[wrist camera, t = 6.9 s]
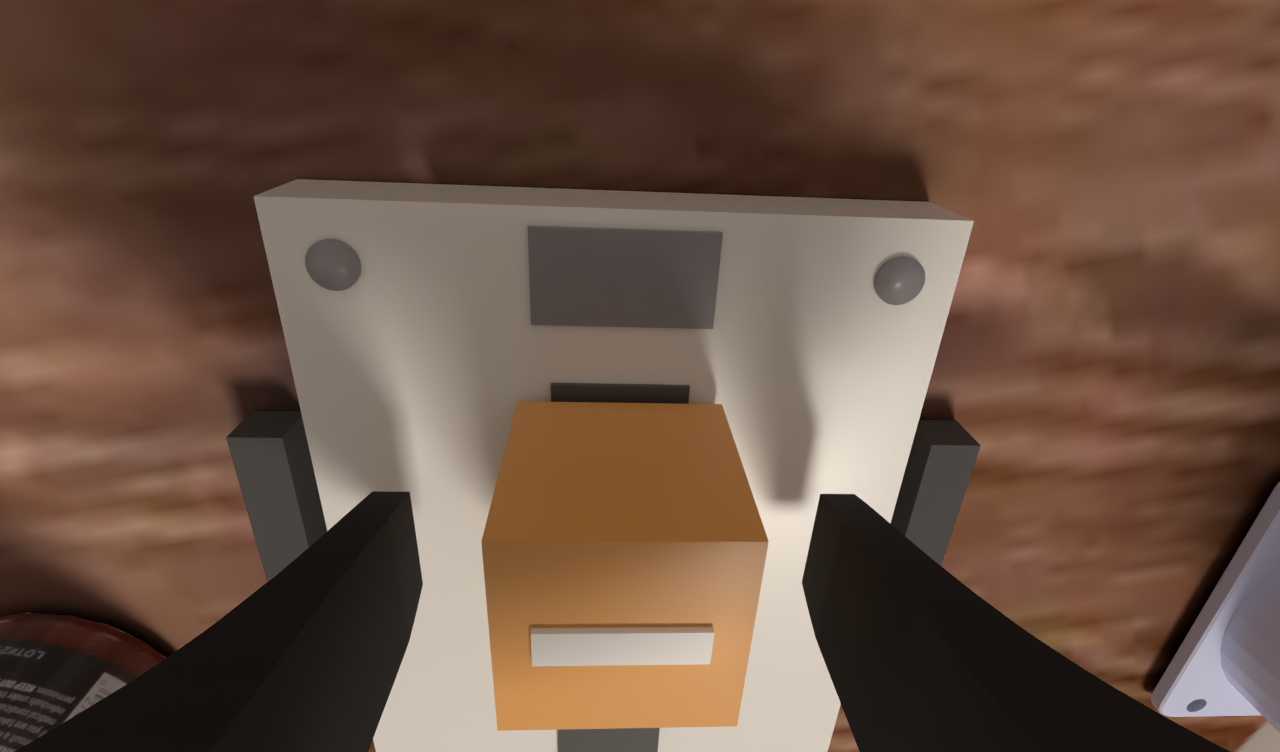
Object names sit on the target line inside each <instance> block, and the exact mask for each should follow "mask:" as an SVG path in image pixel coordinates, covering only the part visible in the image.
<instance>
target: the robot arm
mask: <svg viewBox="0 0 1280 752" xmlns="http://www.w3.org/2000/svg"><path fill="white" fill-rule="evenodd" d="M422 586H423V581H422V574H421V567H420V560H419V553H418V546H417V539H416V532H415V525H414V518H413V511H412V504H411V497H410V492H387V491H373V492H371V493H370V494H369V495H368V496H367V497H365V498H364V499H363V500H362V501H361V502H360V503H359V504H357V505H356V506H355V507H354V508H353V509H352V510H351V511H350V512H348V513H347V514H346V515H345V516H344V517H343V518H342V519H340V520H339V521H338V522H337V523H336V524H335V525H334V526H333V527H331V528H330V529H329V530H328V531H327V532H326V533H325V534H324V535H322V536H321V537H320V538H319V539H318V540H317V541H316V542H315V543H313V544H312V545H311V546H310V547H309V548H308V549H307V550H305V551H304V552H303V553H302V554H301V555H300V556H298V557H297V558H296V559H295V560H294V561H292V562H291V563H290V564H289V565H288V566H287V567H285V568H284V569H283V570H282V571H281V572H280V573H278V574H277V575H276V576H275V577H274V578H272V579H271V580H270V581H269V582H267V583H266V584H265V585H263V586H262V587H261V588H260V589H258V590H257V591H256V592H255V593H253V594H252V595H251V596H250V597H248V598H247V599H246V600H244V601H243V602H242V603H241V604H239V605H238V606H237V607H236V608H234V609H233V610H232V611H231V612H229V613H228V614H227V615H225V616H224V617H223V618H222V619H220V620H219V621H218V622H216V623H215V624H214V625H212V626H211V627H210V628H208V629H207V630H206V631H204V632H203V633H201V634H200V635H199V636H197V637H196V638H194V639H193V640H192V641H190V642H189V643H187V644H186V645H185V646H183V647H182V648H180V649H179V650H177V651H176V652H174V653H173V654H171V655H170V656H169V657H167V658H166V659H164V660H163V661H161V662H160V663H158V664H157V665H155V666H154V667H152V668H151V669H149V670H148V671H146V672H145V673H143V674H142V675H140V676H139V677H137V678H136V679H134V680H133V681H131V682H130V683H128V684H127V685H125V686H123V687H122V688H120V689H118V690H117V691H115V692H113V693H112V694H110V695H108V696H107V697H105V698H104V699H102V700H100V701H99V702H97V703H95V704H94V705H92V706H90V707H89V708H87V709H85V710H84V711H82V712H80V713H79V714H77V715H76V716H74V717H72V718H71V719H69V720H67V721H66V722H64V723H62V724H61V725H59V726H57V727H56V728H54V729H52V730H51V731H49V732H48V733H46V734H44V735H43V736H41V737H39V738H37V739H36V740H34V741H32V742H30V743H29V744H27V745H25V746H23V747H21V748H20V749H18V750H16V751H14V752H368V750H369V748H370V745H371V742H372V740H373V737H374V734H375V732H376V729H377V727H378V724H379V721H380V719H381V716H382V713H383V711H384V708H385V705H386V703H387V700H388V697H389V695H390V692H391V690H392V687H393V684H394V681H395V679H396V676H397V673H398V671H399V668H400V665H401V663H402V660H403V657H404V654H405V652H406V649H407V646H408V643H409V640H410V636H411V632H412V628H413V624H414V620H415V616H416V612H417V608H418V603H419V599H420V595H421V590H422ZM802 586H803V590H804V594H805V598H806V603H807V607H808V611H809V615H810V619H811V623H812V626H813V630H814V634H815V638H816V640H817V643H818V646H819V648H820V651H821V654H822V656H823V659H824V661H825V664H826V667H827V669H828V672H829V674H830V677H831V680H832V682H833V685H834V687H835V690H836V692H837V695H838V697H839V700H840V703H841V705H842V708H843V710H844V713H845V715H846V718H847V720H848V723H849V725H850V728H851V731H852V733H853V736H854V738H855V741H856V743H857V746H858V748H859V751H860V752H1230V751H1228V750H1226V749H1224V748H1222V747H1220V746H1218V745H1216V744H1214V743H1212V742H1210V741H1208V740H1207V739H1205V738H1203V737H1201V736H1199V735H1197V734H1195V733H1193V732H1192V731H1190V730H1188V729H1186V728H1184V727H1182V726H1180V725H1179V724H1177V723H1175V722H1173V721H1171V720H1169V719H1168V718H1166V717H1164V716H1170V717H1188V716H1245V715H1262V716H1263V717H1264V718H1265V719H1266V720H1267V721H1268V722H1269V723H1270V724H1271V725H1272V726H1274V728H1275V729H1276V730H1277V731H1278V732H1280V481H1279V482H1278V483H1277V485H1276V486H1275V487H1274V489H1273V491H1272V493H1271V494H1270V496H1269V498H1268V499H1267V501H1266V503H1265V504H1264V506H1263V508H1262V509H1261V511H1260V513H1259V514H1258V516H1257V518H1256V519H1255V521H1254V523H1253V524H1252V526H1251V528H1250V529H1249V531H1248V533H1247V535H1246V536H1245V538H1244V540H1243V541H1242V543H1241V545H1240V546H1239V548H1238V550H1237V551H1236V553H1235V555H1234V556H1233V558H1232V560H1231V561H1230V563H1229V565H1228V566H1227V568H1226V570H1225V572H1224V573H1223V575H1222V577H1221V578H1220V580H1219V582H1218V583H1217V585H1216V587H1215V588H1214V590H1213V592H1212V593H1211V595H1210V597H1209V598H1208V600H1207V602H1206V603H1205V605H1204V607H1203V608H1202V610H1201V612H1200V614H1199V615H1198V617H1197V619H1196V620H1195V622H1194V624H1193V625H1192V627H1191V629H1190V630H1189V632H1188V634H1187V635H1186V637H1185V639H1184V640H1183V642H1182V644H1181V645H1180V647H1179V649H1178V651H1177V652H1176V654H1175V656H1174V657H1173V659H1172V661H1171V662H1170V664H1169V666H1168V667H1167V669H1166V671H1165V672H1164V674H1163V676H1162V677H1161V679H1160V681H1159V682H1158V684H1157V686H1156V687H1155V689H1154V691H1153V693H1152V695H1151V702H1152V704H1153V705H1154V706H1155V707H1156V709H1157V710H1158V711H1159V712H1160V713H1161V714H1163V715H1164V716H1162V715H1161V714H1159V713H1157V712H1155V711H1154V710H1152V709H1150V708H1148V707H1147V706H1145V705H1143V704H1141V703H1140V702H1138V701H1136V700H1134V699H1133V698H1131V697H1129V696H1128V695H1126V694H1124V693H1122V692H1121V691H1119V690H1117V689H1115V688H1114V687H1112V686H1110V685H1109V684H1107V683H1105V682H1104V681H1102V680H1101V679H1099V678H1097V677H1096V676H1094V675H1092V674H1091V673H1089V672H1087V671H1086V670H1084V669H1083V668H1081V667H1080V666H1078V665H1077V664H1075V663H1073V662H1072V661H1070V660H1069V659H1067V658H1066V657H1064V656H1063V655H1061V654H1060V653H1058V652H1057V651H1055V650H1054V649H1052V648H1051V647H1049V646H1048V645H1046V644H1045V643H1043V642H1041V641H1040V640H1038V639H1037V638H1035V637H1034V636H1033V635H1031V634H1030V633H1028V632H1027V631H1025V630H1024V629H1023V628H1021V627H1020V626H1018V625H1017V624H1015V623H1014V622H1013V621H1011V620H1010V619H1009V618H1007V617H1006V616H1005V615H1003V614H1002V613H1001V612H999V611H998V610H997V609H995V608H994V607H993V606H991V605H990V604H988V603H987V602H986V601H984V600H983V599H982V598H980V597H979V596H978V595H976V594H975V593H974V592H973V591H971V590H970V589H969V588H967V587H966V586H965V585H964V584H962V583H961V582H960V581H959V580H957V579H956V578H955V577H954V576H952V575H951V574H950V573H949V572H947V571H946V570H945V569H944V568H942V567H941V566H940V565H939V564H938V563H936V562H935V561H934V560H933V559H932V558H930V557H929V556H928V555H927V554H926V553H924V552H923V551H922V550H921V549H920V548H918V547H917V546H916V545H915V544H914V543H912V542H911V541H910V540H909V539H908V538H907V537H905V536H904V535H903V534H902V533H901V532H900V531H898V530H897V529H896V528H895V527H894V526H893V525H891V524H890V523H889V522H888V521H887V520H886V519H884V518H883V517H882V516H881V515H880V514H879V513H877V512H876V511H875V510H874V509H873V508H871V507H870V506H869V505H868V504H867V503H865V502H864V501H863V500H862V499H860V498H859V497H858V496H856V495H855V494H820V497H819V502H818V507H817V512H816V516H815V521H814V526H813V531H812V536H811V540H810V545H809V550H808V555H807V560H806V564H805V569H804V574H803V579H802Z"/></svg>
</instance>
